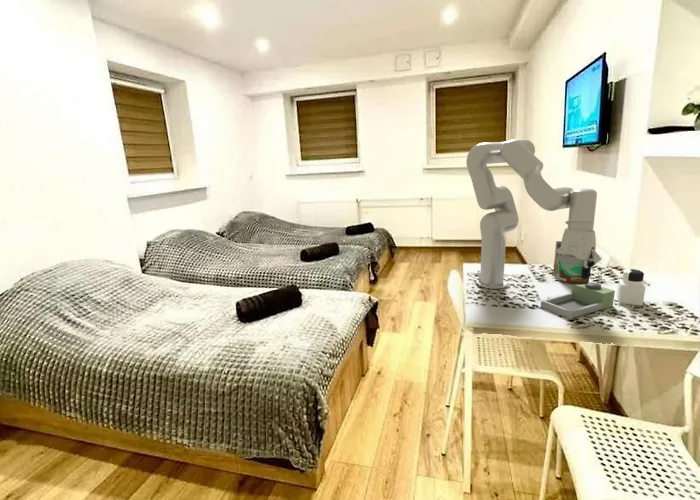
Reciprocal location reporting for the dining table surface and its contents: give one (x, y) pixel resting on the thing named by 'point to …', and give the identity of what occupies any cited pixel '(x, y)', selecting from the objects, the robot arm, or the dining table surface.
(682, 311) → the dining table surface
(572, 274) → the food container
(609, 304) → the shallow rimmed tray
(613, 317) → the dining table surface
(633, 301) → the medicine bottle
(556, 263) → the coffee box
